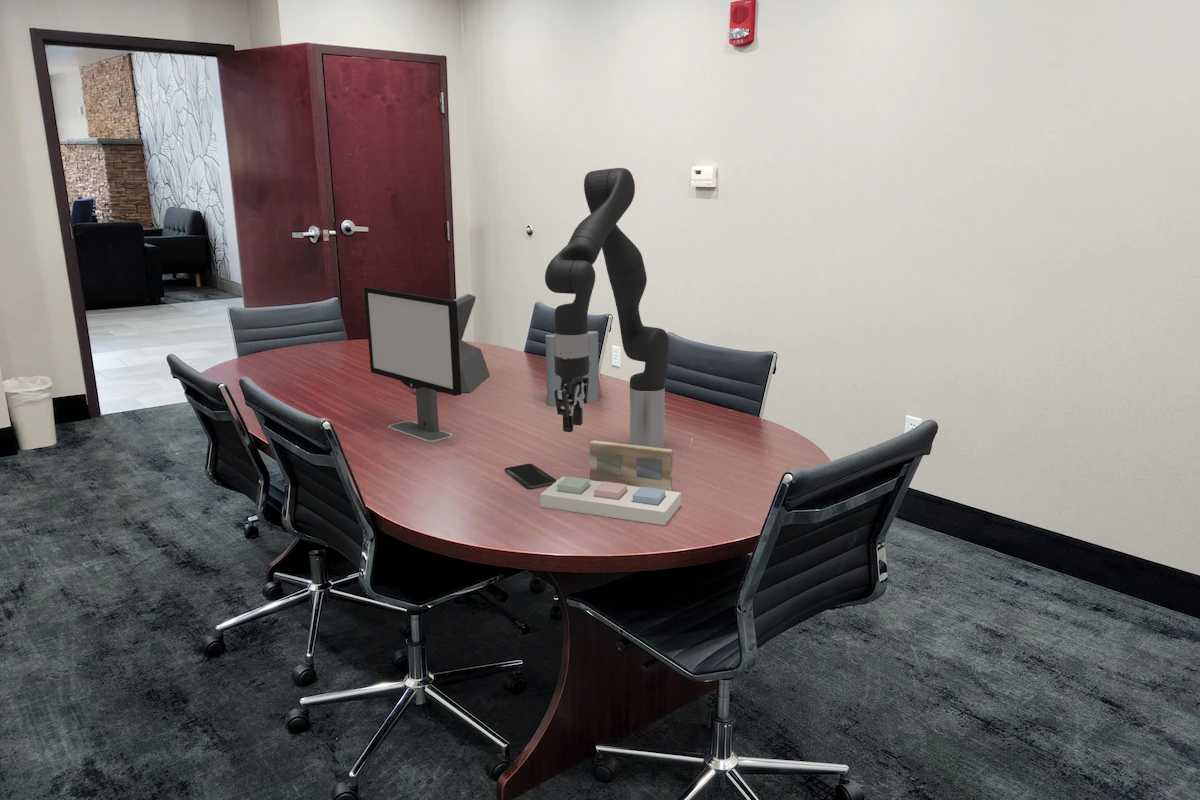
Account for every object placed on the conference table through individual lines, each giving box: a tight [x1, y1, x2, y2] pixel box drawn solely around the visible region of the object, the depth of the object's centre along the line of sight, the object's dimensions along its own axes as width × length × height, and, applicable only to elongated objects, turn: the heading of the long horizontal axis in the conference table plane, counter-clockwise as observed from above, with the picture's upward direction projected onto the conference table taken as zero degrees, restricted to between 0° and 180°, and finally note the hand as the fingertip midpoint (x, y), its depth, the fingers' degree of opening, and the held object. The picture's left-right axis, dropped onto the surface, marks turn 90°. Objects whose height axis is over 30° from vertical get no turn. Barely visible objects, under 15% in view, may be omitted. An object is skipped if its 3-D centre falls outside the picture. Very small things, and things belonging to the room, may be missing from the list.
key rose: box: [594, 481, 627, 500], centre depth 189 cm, size 6×6×3 cm
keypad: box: [539, 476, 682, 526], centre depth 189 cm, size 12×29×3 cm, turn 68°
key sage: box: [557, 476, 590, 495], centre depth 192 cm, size 6×6×3 cm
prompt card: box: [588, 440, 674, 491], centre depth 200 cm, size 2×20×10 cm, turn 68°
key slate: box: [633, 486, 665, 506], centre depth 185 cm, size 6×6×3 cm
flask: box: [544, 330, 600, 407], centre depth 269 cm, size 17×5×25 cm, turn 112°
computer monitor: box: [363, 286, 462, 443], centre depth 238 cm, size 41×8×40 cm, turn 47°
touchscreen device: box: [414, 293, 491, 394], centre depth 295 cm, size 35×20×30 cm, turn 171°
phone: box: [503, 463, 557, 490], centre depth 207 cm, size 8×1×15 cm
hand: (572, 427), depth 188 cm, fingers open, 4 cm apart
